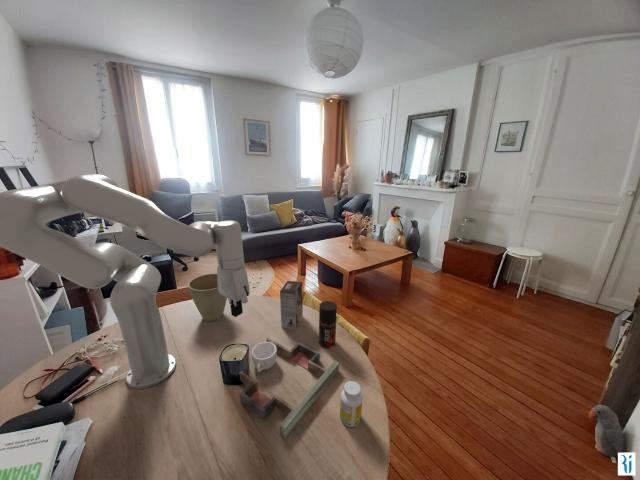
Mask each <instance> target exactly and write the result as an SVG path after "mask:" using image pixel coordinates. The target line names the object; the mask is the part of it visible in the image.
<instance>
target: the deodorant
mask: <svg viewBox="0 0 640 480" xmlns="http://www.w3.org/2000/svg"><path fill="white" fill-rule="evenodd" d="M318 307H319V310H318V314H319V315H318V316H319V317H318V345H319V346H320V347H321V348H323V349H331V348H333V347H335V345H336V337H337V336H336V335H337V334H336V333H337V310H338V305H337V304H336V302H335V301H331V300H324V301H322V302H320V303H319V306H318Z"/></svg>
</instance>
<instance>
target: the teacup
mask: <svg viewBox="0 0 640 480" xmlns="http://www.w3.org/2000/svg"><path fill="white" fill-rule="evenodd" d="M277 356H278V353H277V348H276V346H275V344H273V343H271V342H266V341H262V342H259V343H257V344H256V345H254V347H253V348H252V350H251V360H252V363H253V366H255V368H256V372H257V373H261V371H265V370H266V371H267V370H269V369H271V368H272V367H273V366H274V365H275V363H276V361H277Z"/></svg>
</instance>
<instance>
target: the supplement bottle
mask: <svg viewBox="0 0 640 480" xmlns="http://www.w3.org/2000/svg"><path fill="white" fill-rule="evenodd" d="M361 391H362V390H361V385H360V384H359V383H358V382H356V381H355V380H350V381H347V382H346V383H345V384H344V386H343V389H342V391H341V393H340V402H339V403H340V404H339V405H340V406H339V419H340V422H341V423H342V424H343V425H344V426H347V427H348V428H350V427H351V428H352V427H354V428H355V427H356V426H358V425H359V423H360V422H361V418H362V408H363V394H362V392H361Z"/></svg>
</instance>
